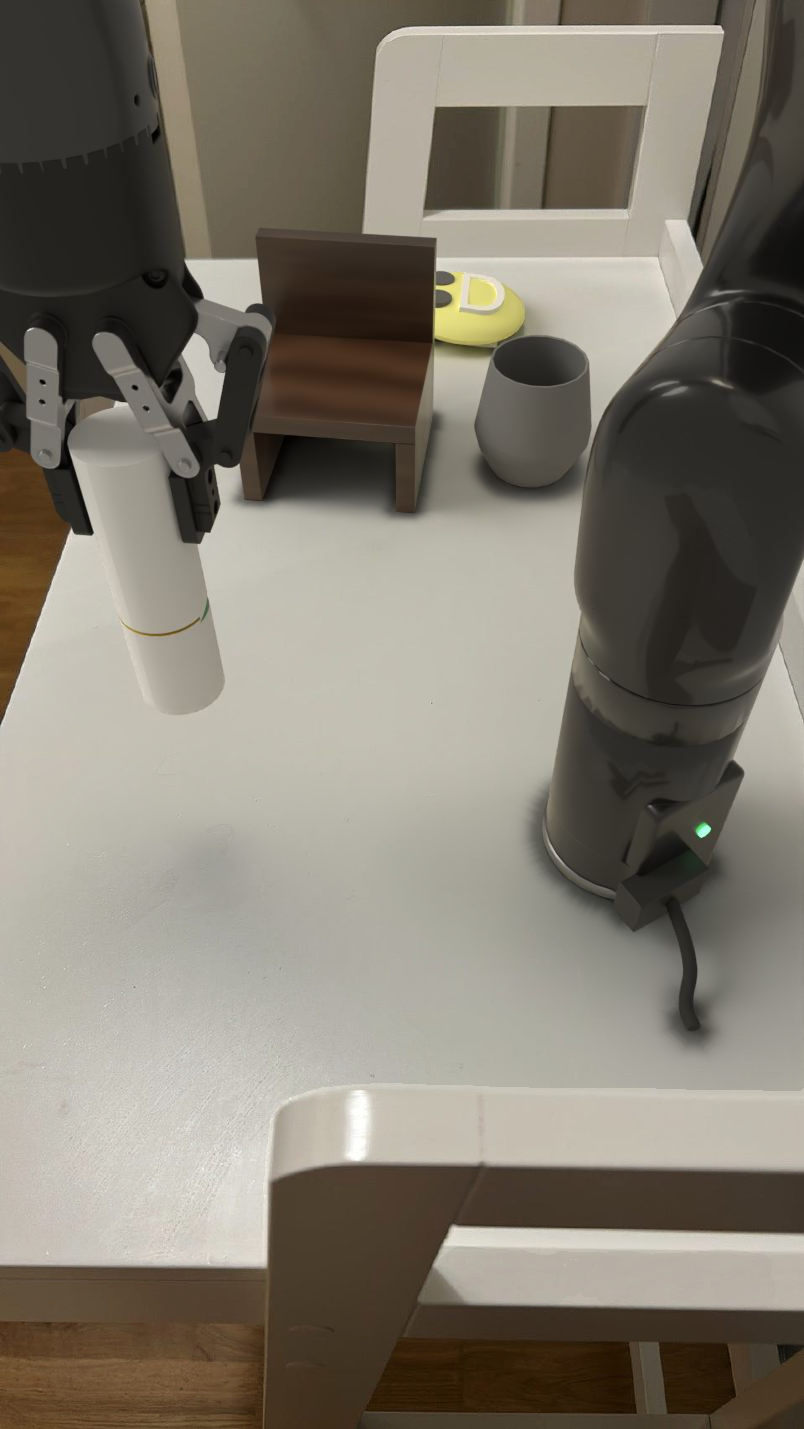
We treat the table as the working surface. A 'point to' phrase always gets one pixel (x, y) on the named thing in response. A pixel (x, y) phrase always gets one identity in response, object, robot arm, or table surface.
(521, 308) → the emoji
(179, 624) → the tube
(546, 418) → the cup
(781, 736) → the table surface
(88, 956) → the table surface
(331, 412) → the wooden doll chair
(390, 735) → the table surface
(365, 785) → the table surface
